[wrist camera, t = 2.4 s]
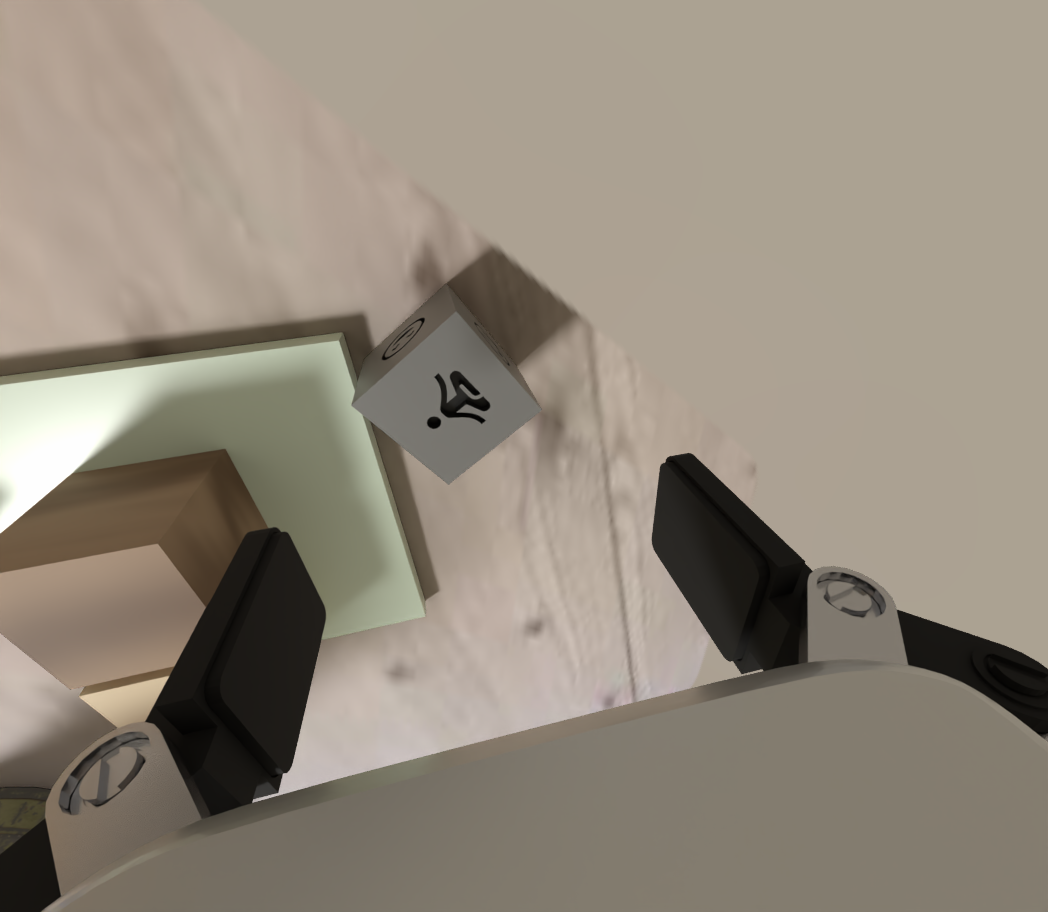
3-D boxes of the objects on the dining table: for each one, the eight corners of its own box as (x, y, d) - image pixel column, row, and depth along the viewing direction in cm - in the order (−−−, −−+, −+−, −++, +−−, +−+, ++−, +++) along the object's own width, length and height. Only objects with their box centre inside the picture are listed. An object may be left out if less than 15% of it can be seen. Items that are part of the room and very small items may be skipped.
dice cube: (516, 365, 21) (541, 409, 17) (441, 428, 22) (448, 484, 18) (446, 283, 18) (456, 311, 14) (364, 358, 19) (351, 405, 15)
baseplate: (-161, 397, 16) (-200, 411, 15) (342, 332, 18) (338, 340, 17) (124, 668, 26) (113, 687, 25) (425, 601, 28) (425, 616, 27)
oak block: (156, 578, 21) (78, 696, 16) (282, 553, 22) (244, 658, 17) (212, 647, 25) (162, 763, 20) (320, 623, 25) (298, 729, 21)
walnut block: (71, 473, 18) (-61, 584, 13) (225, 448, 19) (157, 543, 14) (150, 571, 21) (70, 689, 16) (278, 546, 22) (239, 651, 17)
